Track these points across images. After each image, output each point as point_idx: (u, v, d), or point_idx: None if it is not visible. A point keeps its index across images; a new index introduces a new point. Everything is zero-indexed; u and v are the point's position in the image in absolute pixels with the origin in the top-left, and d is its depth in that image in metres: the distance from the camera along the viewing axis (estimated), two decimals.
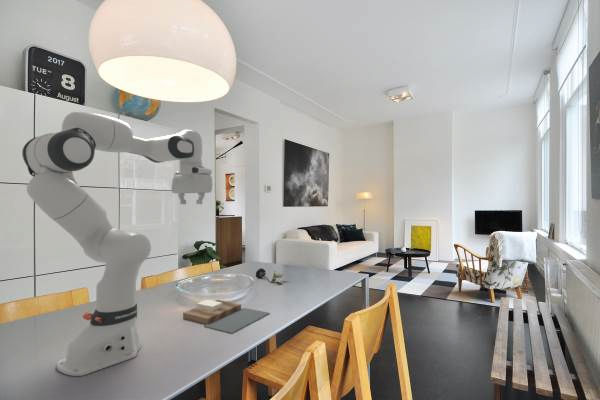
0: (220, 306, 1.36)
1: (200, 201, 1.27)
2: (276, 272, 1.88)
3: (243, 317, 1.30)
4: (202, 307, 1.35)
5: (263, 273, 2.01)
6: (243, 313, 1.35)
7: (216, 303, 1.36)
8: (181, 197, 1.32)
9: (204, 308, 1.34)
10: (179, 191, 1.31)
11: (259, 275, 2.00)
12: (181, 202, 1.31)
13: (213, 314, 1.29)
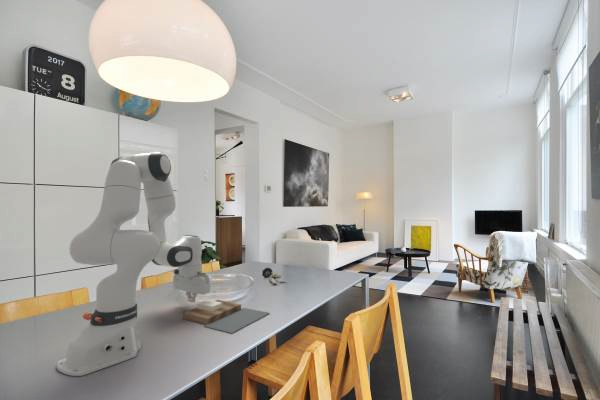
0: (220, 306, 1.36)
1: None
2: (273, 272, 1.87)
3: (243, 317, 1.30)
4: (202, 307, 1.35)
5: (269, 272, 2.03)
6: (243, 313, 1.35)
7: (216, 303, 1.36)
8: None
9: (204, 308, 1.34)
10: None
11: (265, 274, 2.02)
12: None
13: (213, 314, 1.29)
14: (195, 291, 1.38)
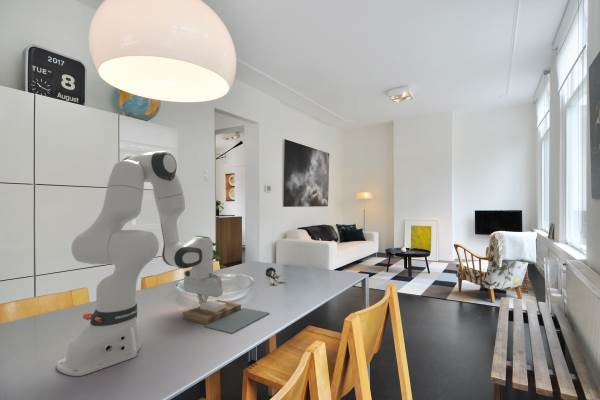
0: (223, 307, 1.35)
1: None
2: (272, 272, 1.87)
3: (243, 317, 1.30)
4: (205, 307, 1.34)
5: None
6: (243, 313, 1.35)
7: (219, 304, 1.35)
8: None
9: (207, 309, 1.33)
10: None
11: (268, 274, 2.03)
12: None
13: (213, 314, 1.29)
14: (207, 293, 1.35)
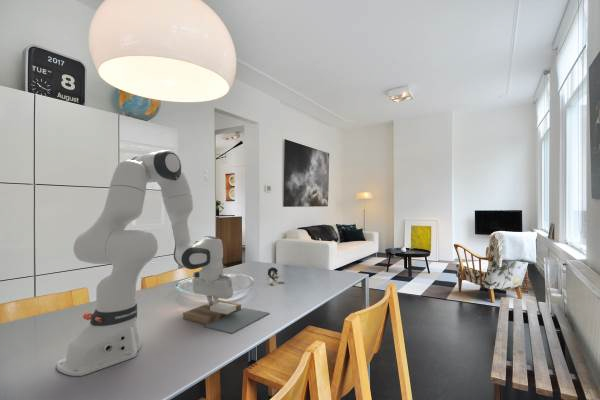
0: (234, 309, 1.32)
1: None
2: (271, 272, 1.87)
3: (243, 317, 1.30)
4: (216, 310, 1.31)
5: (274, 272, 2.03)
6: (243, 313, 1.35)
7: (230, 306, 1.32)
8: None
9: (218, 311, 1.30)
10: None
11: (270, 274, 2.03)
12: None
13: (213, 314, 1.29)
14: (217, 295, 1.32)
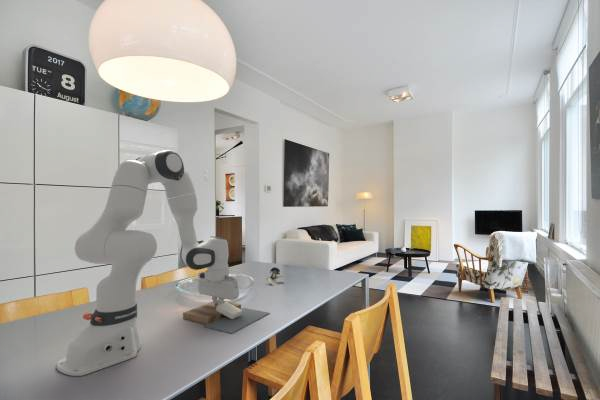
0: (240, 314, 1.31)
1: None
2: (271, 272, 1.87)
3: (243, 317, 1.30)
4: (222, 311, 1.29)
5: (277, 272, 2.03)
6: (243, 313, 1.35)
7: (236, 310, 1.31)
8: None
9: (223, 313, 1.29)
10: None
11: (272, 274, 2.03)
12: None
13: (213, 314, 1.29)
14: (223, 296, 1.31)
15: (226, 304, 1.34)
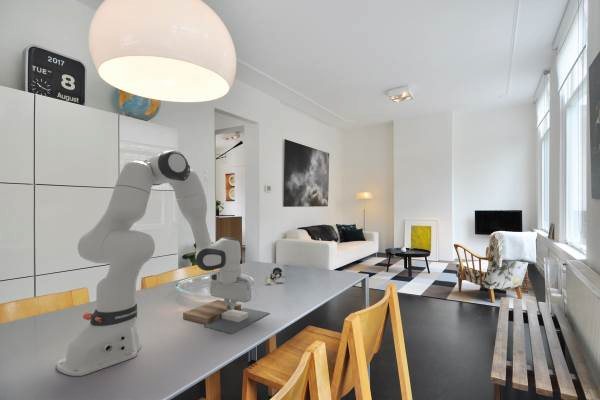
0: (246, 316, 1.29)
1: None
2: None
3: None
4: (227, 317, 1.28)
5: (279, 272, 2.03)
6: None
7: (242, 313, 1.29)
8: None
9: (229, 318, 1.27)
10: None
11: (275, 274, 2.03)
12: None
13: (213, 314, 1.29)
14: (235, 298, 1.27)
15: (231, 311, 1.33)
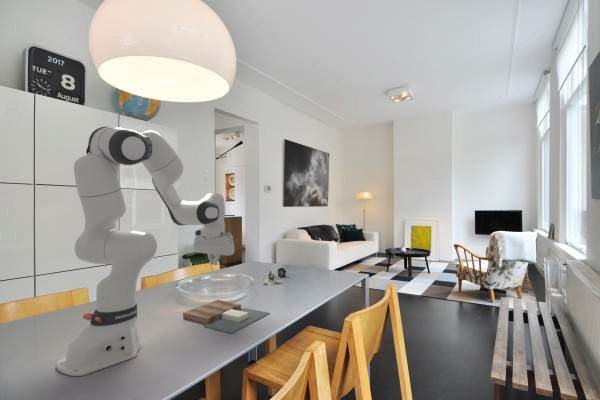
0: (246, 316, 1.29)
1: None
2: None
3: None
4: (227, 317, 1.28)
5: (283, 273, 2.02)
6: None
7: (242, 313, 1.29)
8: None
9: (229, 318, 1.27)
10: None
11: None
12: None
13: (213, 314, 1.29)
14: (218, 252, 1.29)
15: (231, 311, 1.33)
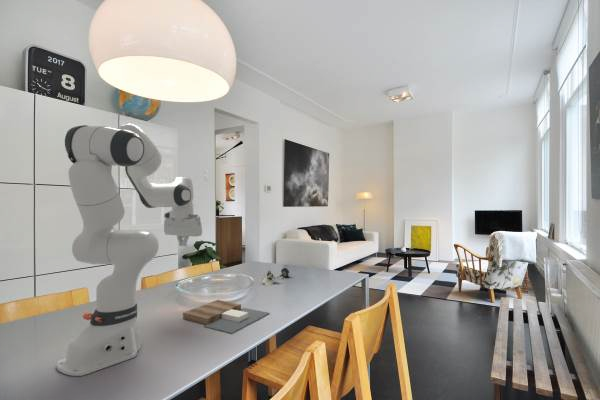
0: (246, 316, 1.29)
1: None
2: None
3: None
4: (227, 317, 1.28)
5: (286, 273, 2.00)
6: None
7: (242, 313, 1.29)
8: None
9: (229, 318, 1.27)
10: None
11: None
12: None
13: (213, 314, 1.29)
14: (186, 234, 1.34)
15: (231, 311, 1.33)
